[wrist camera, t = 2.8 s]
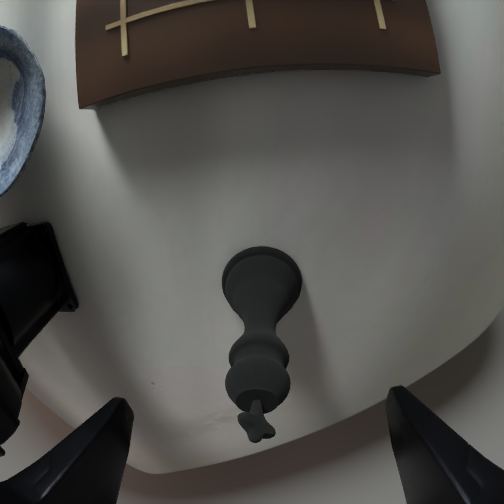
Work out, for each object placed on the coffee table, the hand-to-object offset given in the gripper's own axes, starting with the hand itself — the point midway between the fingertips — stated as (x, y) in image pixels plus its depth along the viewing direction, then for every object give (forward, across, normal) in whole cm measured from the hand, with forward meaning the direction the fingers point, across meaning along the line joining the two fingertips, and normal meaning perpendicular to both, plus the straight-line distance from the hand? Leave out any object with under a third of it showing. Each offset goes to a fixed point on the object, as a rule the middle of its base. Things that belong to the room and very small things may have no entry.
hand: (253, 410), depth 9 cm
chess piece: (+9, 0, 0) cm, 9 cm away
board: (+9, -1, -21) cm, 23 cm away
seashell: (+9, +17, -14) cm, 24 cm away
